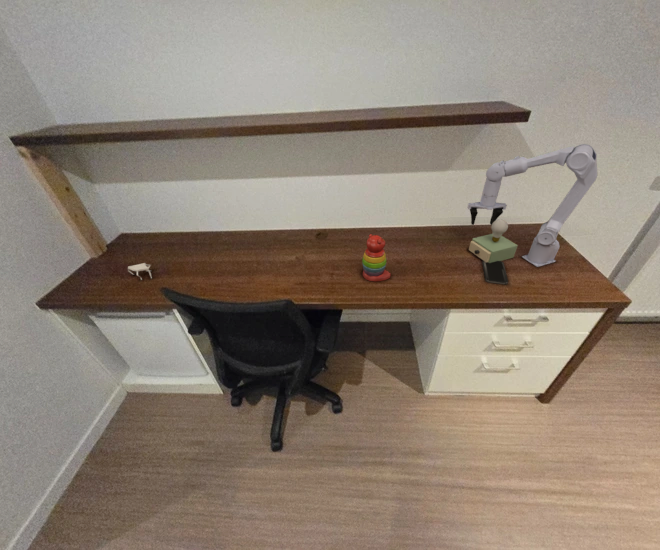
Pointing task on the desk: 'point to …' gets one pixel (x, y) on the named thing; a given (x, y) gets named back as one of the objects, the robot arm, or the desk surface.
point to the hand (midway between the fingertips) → (481, 224)
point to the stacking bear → (375, 260)
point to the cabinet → (497, 247)
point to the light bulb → (498, 229)
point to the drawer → (479, 251)
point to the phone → (495, 272)
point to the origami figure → (139, 268)
